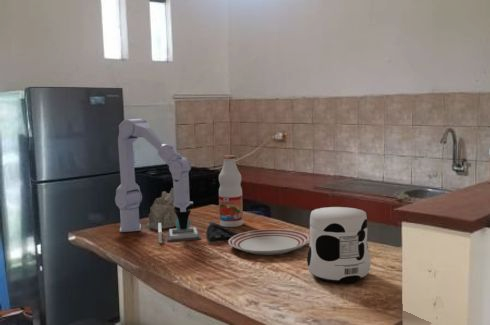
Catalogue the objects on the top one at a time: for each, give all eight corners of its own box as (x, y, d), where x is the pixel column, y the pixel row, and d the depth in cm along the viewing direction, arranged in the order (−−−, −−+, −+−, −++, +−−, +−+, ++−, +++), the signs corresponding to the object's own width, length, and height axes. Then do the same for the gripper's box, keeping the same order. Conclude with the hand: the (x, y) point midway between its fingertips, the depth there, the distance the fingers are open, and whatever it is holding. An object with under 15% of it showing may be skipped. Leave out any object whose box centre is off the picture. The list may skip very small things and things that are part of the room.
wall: (158, 233, 188) (157, 222, 187) (161, 232, 188) (161, 222, 188) (158, 243, 174) (158, 232, 174) (162, 242, 174) (161, 232, 174)
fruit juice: (247, 223, 200) (245, 154, 196) (236, 228, 192) (234, 157, 188) (227, 221, 204) (224, 154, 201) (215, 226, 196) (213, 156, 193)
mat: (166, 233, 187) (166, 228, 187) (198, 230, 190) (197, 226, 189) (167, 241, 176) (167, 236, 176) (201, 239, 178) (200, 234, 178)
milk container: (326, 262, 149) (326, 203, 147) (380, 273, 138) (381, 210, 136) (295, 278, 136) (294, 215, 134) (352, 292, 125) (352, 223, 123)
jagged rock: (165, 216, 214) (162, 183, 212) (188, 224, 203) (185, 189, 200) (134, 225, 204) (131, 191, 201) (156, 234, 192) (153, 197, 189)
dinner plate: (213, 254, 161) (213, 244, 160) (251, 233, 185) (250, 224, 184) (291, 264, 148) (291, 254, 147) (321, 241, 172) (320, 231, 172)
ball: (175, 229, 185) (174, 215, 184) (190, 228, 186) (189, 214, 185) (176, 233, 179) (175, 218, 179) (191, 231, 180) (190, 217, 180)
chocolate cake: (238, 236, 182) (214, 215, 182) (241, 236, 175) (216, 213, 175) (221, 256, 180) (197, 234, 179) (224, 256, 173) (199, 233, 173)
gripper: (193, 193, 174) (195, 231, 176) (190, 187, 188) (192, 221, 190) (173, 194, 173) (175, 232, 175) (172, 188, 187) (173, 222, 189)
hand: (183, 226), depth 182 cm, fingers closed on ball, 5 cm apart
